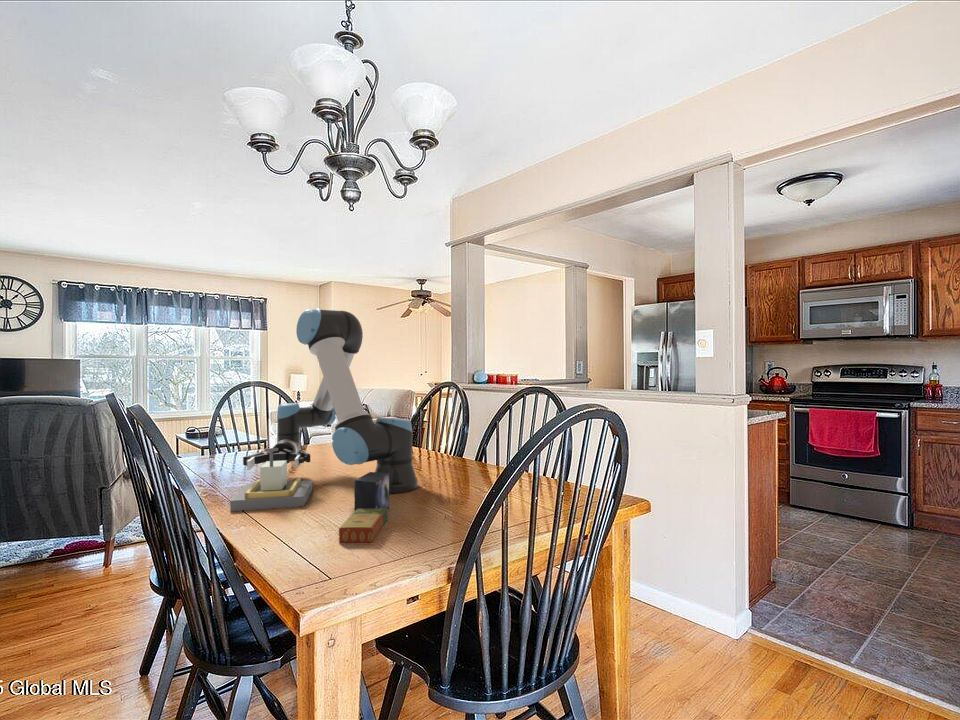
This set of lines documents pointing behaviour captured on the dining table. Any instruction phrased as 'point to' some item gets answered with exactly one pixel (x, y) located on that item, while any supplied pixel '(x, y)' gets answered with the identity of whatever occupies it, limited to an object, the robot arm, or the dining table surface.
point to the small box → (372, 491)
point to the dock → (272, 496)
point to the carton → (363, 525)
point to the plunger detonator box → (273, 473)
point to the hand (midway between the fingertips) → (272, 464)
